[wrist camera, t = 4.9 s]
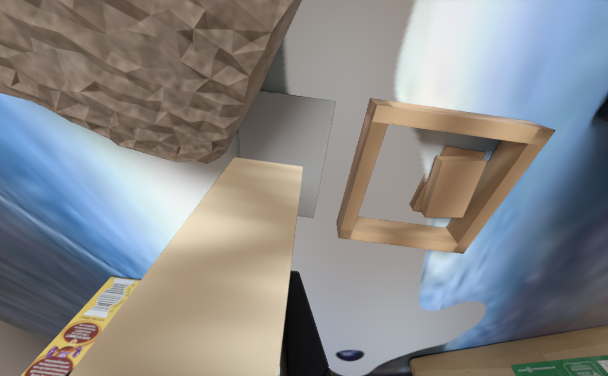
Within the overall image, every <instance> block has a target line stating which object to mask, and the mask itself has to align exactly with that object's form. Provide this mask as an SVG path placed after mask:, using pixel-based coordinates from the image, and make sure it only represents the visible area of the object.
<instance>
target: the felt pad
mask: <svg viewBox="0 0 608 376" xmlns="http://www.w3.org/2000/svg"><path fill="white" fill-rule="evenodd" d="M335 103H336V102H335V101H330V100H323V99H316V98H310V97H302V96H295V95H289V94H282V93H275V92H268V91H261V90H260V91H259V92H258V94H257V96H256V97H255V99H254V101H253V103H252V104H251V106H250V108H249V110H248V112H247V113H246V115H245V117H244V119H243V121H242V122H241V124H240V126H239V155H240V158H243V159H251V160H258V161H265V162H272V163H280V164H287V165H294V166H302V167H303V170H302V179H301V187H300V196H299V204H298V212H297V216H301V217H310V218H313V217H314V212H315V207H316V202H317V196H318V191H319V186H320V181H321V176H322V170H323V165H324V160H325V155H326V150H327V145H328V140H329V135H330V129H331V124H332V119H333V113H334V108H335Z"/></svg>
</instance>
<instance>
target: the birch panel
mask: <svg viewBox="0 0 608 376" xmlns="http://www.w3.org/2000/svg"><path fill="white" fill-rule="evenodd" d="M302 170H303V167H302V166H294V165H287V164H280V163H272V162H265V161H258V160H251V159H243V158H236V157H234V158H233V159H232V160H231V162H230V163H229V164H228V166H227V167H226V168H225V170H224V171H223V172H222V174H221V175H220V176H219V178H218V179H217V180H216V182H215V183H214V184H213V186H212V187H211V188H210V190H209V191H208V192H207V194H206V195H205V196H204V197H203V199H202V200H201V201H200V203H199V204H198V205H197V207H196V208H195V209H194V211H193V212H192V213H191V215H190V216H189V217H188V219H187V220H186V221H185V223H184V224H183V225H182V227H181V228H180V229H179V231H178V232H177V233H176V234H175V236H174V237H173V238H172V240H171V241H170V242H169V244H168V245H167V246H166V248H165V249H164V250H163V252H162V253H161V254H160V256H159V257H158V258H157V260H156V261H155V262H154V264H153V265H152V266H151V268H150V269H149V270H148V271H147V273H146V274H145V275H144V277H143V278H142V279H141V281H140V282H139V283H138V285H137V286H136V287H135V289H134V290H133V291H132V293H131V294H130V295H129V297H128V298H127V299H126V301H125V302H124V303H123V305H122V306H121V307H120V308H119V310H118V311H117V312H116V314H115V315H114V316H113V318H112V319H111V320H110V322H109V323H108V324H107V326H106V327H105V328H104V330H103V331H102V332H101V334H100V335H99V336H98V338H97V339H96V340H95V342H94V343H93V344H92V345H91V347H90V348H89V349H88V351H87V352H86V353H85V355H84V356H83V357H82V359H81V360H80V361H79V363H78V364H77V365H76V367H75V368H74V369H73V371H72V372H71V373H70V375H69V376H278V371H279V363H280V354H281V346H282V338H283V329H284V321H285V313H286V304H287V296H288V287H289V279H290V271H291V262H292V254H293V246H294V237H295V229H296V220H297V212H298V204H299V196H300V187H301V179H302Z"/></svg>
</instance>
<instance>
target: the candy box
mask: <svg viewBox="0 0 608 376" xmlns="http://www.w3.org/2000/svg"><path fill="white" fill-rule="evenodd" d="M140 281H141V280H136V279H129V278H121V277H113V276H112V277H111V278H110V279H109V280H108V281H107V282H106V283H105V284H104V285H103V286H102V287H101V289H100V290H99V291H98V292H97V293H96V294H95V295H94V296H93V297H92V298H91V300H90V301H89V302H88V303H87V304H86V305H85V306H84V307H83V308H82V309H81V311H80V312H79V313H78V314H77V315H76V316H75V317H74V318H73V319H72V320H71V321H70V322H69V324H68V325H67V326H66V327H65V328H64V329H63V330H62V331H61V332H60V333H59V335H58V336H57V337H56V338H55V339H54V340H53V341H52V342H51V343H50V344H49V346H48V347H47V348H46V349H45V350H44V351H43V352H42V353H41V354H40V355H39V356H38V357H37V359H36V360H35V361H34V362H33V363H32V364H31V365H30V366H29V367H28V368H27V369H26V371H25V372H24V373H23V374H22V375H21V376H65V375H66V374H67V373H68V372H70V371H71V370H72V369H73V368H75V367H76V365H77V364H78V363H79V361H80V360H81V359H82V357H83V356H84V355H85V353H86V352H87V351H88V349H89V348H90V347H91V345H92V344H93V343H94V342H95V340H96V339H97V338H98V336H99V335H100V334H101V332H102V331H103V330H104V328H105V327H106V326H107V324H108V323H109V322H110V320H111V319H112V318H113V316H114V315H115V314H116V312H117V311H118V310H119V308H120V307H121V306H122V305H123V303H124V302H125V301H126V299H127V298H128V297H129V295H130V294H131V293H132V291H133V290H134V289H135V287H136V286H137V285H138V283H139V282H140Z"/></svg>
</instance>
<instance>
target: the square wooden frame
mask: <svg viewBox="0 0 608 376" xmlns="http://www.w3.org/2000/svg"><path fill="white" fill-rule="evenodd" d="M388 124H393V125H400V126H407V127H414V128H421V129H428V130H436V131H443V132H450V133H457V134H464V135H471V136H478V137H485V138H492V139H499V140H501V142H500V143H499V145H498V146H497V148H496V150H495V151H494V153H493V154H492V156H491V158H490V159H489V161H488V162H487V164H486V166H485V167H484V170H483V172H482V174H481V177H480V179H479V181H478V184H477V186H476V188H475V190H474V193H473V195H472V197H471V200H470V202H469V204H468V207H467V209H466V211H465V214H464V216H463V218H459V217H453V218H452V219H451V221H450V223H449V224H448V226H447V227H446V228H443V227H435V226H427V225H419V224H411V223H403V222H395V221H388V220H380V219H373V218H365V217H357V216H358V213H359V210H360V207H361V204H362V201H363V198H364V195H365V192H366V189H367V186H368V183H369V180H370V177H371V174H372V171H373V168H374V165H375V162H376V159H377V156H378V153H379V150H380V147H381V143H382V141H383V137H384V135H385V132H386V128H387V126H388ZM555 131H556V130H553V129H550V128H547V127H545V126H542V125H539V124H536V123H533V122H530V121H525V120H518V119H511V118H504V117H497V116H490V115H483V114H476V113H470V112H463V111H456V110H449V109H442V108H435V107H428V106H421V105H414V104H407V103H400V102H393V101H386V100H380V99H372V98H370V100H369V104H368V108H367V112H366V115H365V119H364V123H363V126H362V130H361V134H360V138H359V141H358V145H357V149H356V153H355V156H354V160H353V163H352V167H351V171H350V175H349V178H348V182H347V186H346V189H345V193H344V197H343V201H342V204H341V208H340V212H339V216H338V219H337V231H338V238H343V239H351V240H359V241H366V242H374V243H383V244H391V245H398V246H406V247H415V248H422V249H430V250H438V251H446V252H454V253H462V254H463V253H464V252H465V251H466V249H467V248H468V247H469V245H470V244H471V243H472V241H473V240H474V239H475V237H476V236H477V235H478V233H479V232H480V231H481V229H482V228H483V227H484V225H485V224H486V223H487V221H488V220H489V219H490V217H491V216H492V215H493V213H494V212H495V211H496V209H497V208H498V207H499V205H500V204H501V203H502V201H503V200H504V199H505V197H506V196H507V195H508V193H509V192H510V191H511V189H512V188H513V187H514V185H515V184H516V183H517V181H518V180H519V179H520V177H521V176H522V175H523V173H524V172H525V171H526V169H527V168H528V167H529V165H530V164H531V163H532V161H533V160H534V159H535V157H536V156H537V155H538V153H539V152H540V151H541V149H542V148H543V147H544V145H545V144H546V143H547V141H548V140H549V139H550V137H551V136H552V135H553V133H554V132H555Z"/></svg>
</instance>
